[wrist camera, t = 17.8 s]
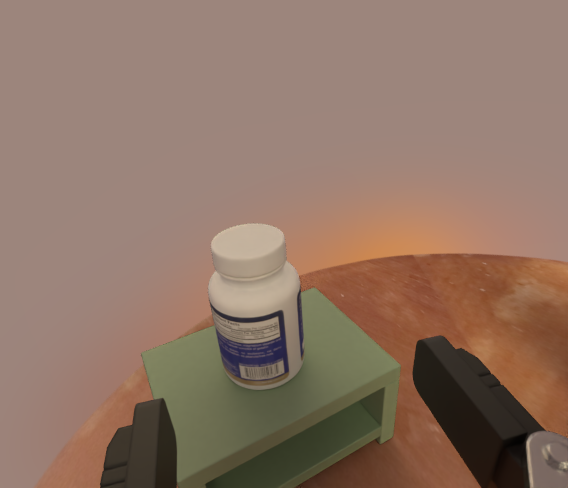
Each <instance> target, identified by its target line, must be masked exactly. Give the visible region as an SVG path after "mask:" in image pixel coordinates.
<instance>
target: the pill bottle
mask: <svg viewBox="0 0 568 488" xmlns="http://www.w3.org/2000/svg"><path fill="white" fill-rule="evenodd" d="M211 251H212V257H213V264H214V266H215V270H216V271H215V272H214V273H213V275H212V277H211V278H210V281H209V284H208V295H209V301H210V305H211V310H212V315H213V320H214V324H215V329H216V334H217V339H218V343H219V348H220V353H221V358H222V363H223V367H224V370H225V372H226V374H227V375H228V377H229V378H230V379H231V380H232V381H233V382H234V383H236V384H237V385H239V386H242V387H244V388H247V389H252V390H266V389H271V388H275V387H278V386H281V385H283V384H284V383H286V382H288V381H289V380H291V379H292V378H293V377H294V376H295V375H296V374H297V373H298V372H299V370H300V369H301V367H302V364H303V361H304V350H305V349H304V334H303V318H302V302H301V287H300V279H299V275H298V273H297V271H296V269H295V268H294V267H293V266H292V264H290V263H289V262H288V261H286V244H285V237H284V234H283V233H282V231H281V230H279V229H278V228H276V227H274V226H270V225H266V224H243V225H238V226H234V227H231V228H228V229H226V230H224V231H222V232H220V233H219V234H218V235H216V236H215V237H214V239H213V241H212V243H211Z"/></svg>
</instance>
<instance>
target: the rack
mask: <svg viewBox="0 0 568 488" xmlns="http://www.w3.org/2000/svg"><path fill="white" fill-rule="evenodd" d="M301 302H302V318H303V334H304V349H305V350H304V361H303V364H302V367H301V369H300V370H299V372H298V373H297V374H296V375H295V376H294V377H293V378H292V379H291V380H289V381H288V382H286V383H284V384H283V385H281V386H278V387H275V388H271V389H266V390H252V389H247V388H244V387H242V386H239V385H237V384H236V383H234V382H233V381H232V380H231V379H230V378H229V377H228V375H227V374H226V372H225V370H224V367H223V363H222V358H221V353H220V348H219V343H218V339H217V334H216V329H215V325H214V326H211V327H208V328H206V329H203V330H200V331H198V332H195V333H192V334H190V335H187V336H185V337H182V338H179V339H177V340H174V341H171V342H169V343H166V344H163V345H161V346H158V347H155V348H153V349H150V350H148V351H145V352H142V353H141V356H142V359H143V363H144V366H145V370H146V374H147V377H148V381H149V384H150V388H151V391H152V395H153V399H154V400H155V399H159V398H164V400H165V402H166V406H167V409H168V412H169V415H170V418H171V421H172V424H173V427H174V430H175V435H176V442H177V484H178V487H179V488H295V487H296V486H298V485H300V484H301V483H303V482H305V481H306V480H308V479H310V478H311V477H313V476H314V475H316V474H318V473H319V472H321V471H323V470H324V469H326V468H328V467H329V466H331V465H333V464H334V463H336V462H338V461H339V460H341V459H343V458H344V457H346V456H348V455H349V454H351V453H353V452H354V451H356V450H358V449H359V448H361V447H363V446H364V445H366V444H368V443H369V442H371V441H373V440H374V439H376V440H377V441H378V443H379V444H382V443H384V442H385V441H387V440H389V439H390V438H392V437H393V433H394V424H395V415H396V405H397V396H398V387H399V378H400V369H401V365H400V364H399V363H398V362H397V361H396V360H394V359H393V358H392V357H391V356H390V355H389V354H388V353H387V352H386V351H384V350H383V349H382V348H381V347H380V346H379V345H378V344H377V343H376V342H375V341H373V340H372V339H371V338H370V337H369V336H368V335H367V334H366V333H365V332H364V331H362V330H361V329H360V328H359V327H358V326H357V325H356V324H355V323H354V322H353V321H351V320H350V319H349V318H348V317H347V316H346V315H345V314H344V313H343V312H342V311H340V310H339V309H338V308H337V307H336V306H335V305H334V304H333V303H332V302H331V301H329V300H328V299H327V298H326V297H325V296H324V295H323V294H322V293H321V292H320V291H318V290H317V289H316V288H315V287H314V288H311V289H309V290H306V291H303V292H301Z"/></svg>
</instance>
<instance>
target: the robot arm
mask: <svg viewBox="0 0 568 488" xmlns="http://www.w3.org/2000/svg"><path fill="white" fill-rule="evenodd" d="M413 380H414V384H415V387H416V389H417V391H418V393H419V395H420V396H421V398H422V399H423V401H424V402H425V404H426V405H427V407H428V408H429V410H430V411H431V413H432V414H433V416H434V417H435V419H436V420H437V422H438V423H439V425H440V426H441V428H442V429H443V431H444V432H445V434H446V435H447V437H448V438H449V440H450V441H451V443H452V444H453V446H454V447H455V449H456V450H457V452H458V453H459V455H460V456H461V458H462V459H463V461H464V462H465V464H466V465H467V467H468V468H469V470H470V471H471V473H472V474H473V476H474V477H475V479H476V480H477V482H478V483H479V485H480V486H481V488H568V438H566V437H564V436H562V435H560V434H557V433H554V432H549V431H546V430H545V429H544V428H542V427H541V426H540V425H539V423H538V422H537V421H536V420H535V419H534V418H533V417H532V416H531V415H530V414H529V413H528V412H527V411H526V409H525V408H524V407H523V406H522V405H521V404H520V403H519V402H518V401H517V400H516V399H515V398H514V396H513V395H512V394H511V393H510V392H509V391H508V390H507V389H506V388H505V387H504V386H503V385H501V384H500V381H499V380H498V379H497V378H496V377H495V376H494V375H493V374H491V373H490V371H489V370H488V368H487V367H486V366H485V365H484V364H483V363H482V362H481V361H480V360H479V359H478V358H477V357H475V356H474V355H472V354H470V353H469V352H467V351H465V350H464V349H462V348H460V349H455V348H454V347H453V346H452V345H451V344H450V343H449V341H448V340H447V339H446V338H445V337H443V336H435V337H431V338H426V339H422V340H419V341H418V342H417V344H416V351H415V359H414V367H413ZM103 468H104V471H103V472H102V477H101V483H100V485H101V487H100V488H177V442H176V435H175V430H174V427H173V424H172V421H171V418H170V415H169V412H168V409H167V406H166V402H165V400H164V398H159V399H155V400H151V401H146V402H142V403H138V404H136V406H135V410H134V417H133V424H132V425H130V426H126V427H122V428H118V430H117V431H116V433H115V435H114V437H113V438H112V440H111V442H110V443H109V445H108V447H107V451H106V456H105V462H104V467H103Z"/></svg>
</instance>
